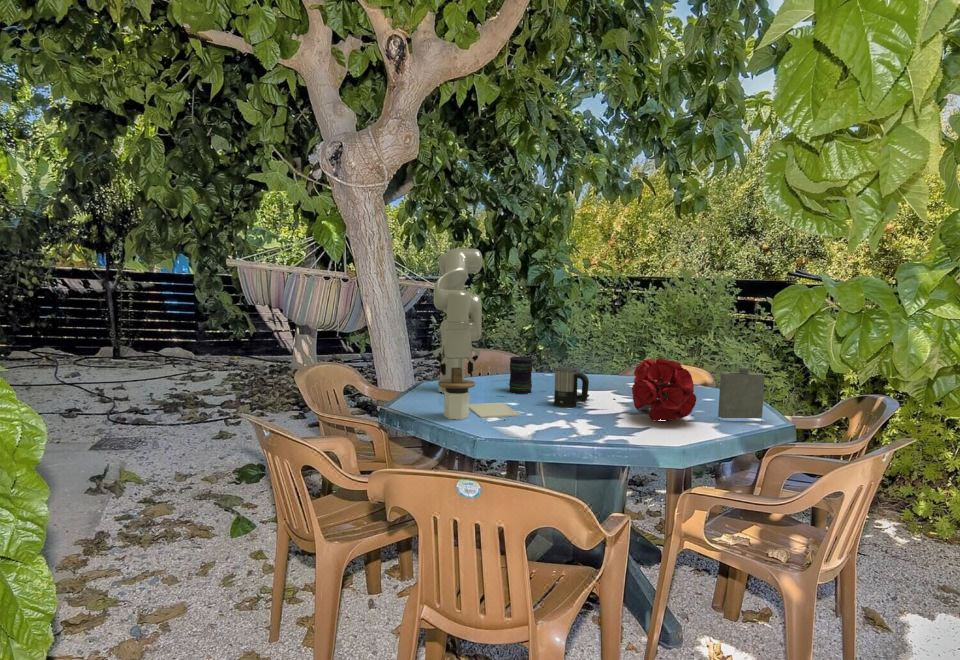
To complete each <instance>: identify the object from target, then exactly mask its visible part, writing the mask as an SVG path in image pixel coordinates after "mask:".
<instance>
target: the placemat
mask: <svg viewBox="0 0 960 660" xmlns="http://www.w3.org/2000/svg"><path fill="white" fill-rule="evenodd" d="M469 410H471V411H472V412H473V414H475V415H476V416H478V417H479V418H480V419H489V418H490V419H491V418H506V417H507V418H509V417H508V416H512V417H521V414H520V413H519V412H518V411H515V410H514V409H513V408H511V407H509V406H508V405H507V404H505V403H504V402H490V403H489V402H488V403H485V402H484V403H469Z"/></svg>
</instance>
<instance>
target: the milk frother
mask: <svg viewBox="0 0 960 660" xmlns="http://www.w3.org/2000/svg"><path fill="white" fill-rule="evenodd" d="M578 370H579V369H578V368H576V367H572V366H571V367H569V366H558V367H557V366H556V367H554V397H553V405H554V406H555V407H559V408H575V407H577V406H578V405H577V403H579V402H582V403H583V402H586V401H587V400H588V398H590V394H589V383H590V381H589V378H588V376H587V375H585V373H582V372H578ZM578 379H579V380H581V382H582V386H581V394H578Z"/></svg>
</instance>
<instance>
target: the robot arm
mask: <svg viewBox="0 0 960 660" xmlns="http://www.w3.org/2000/svg"><path fill="white" fill-rule="evenodd" d="M483 261H484V260H483V255H482V253H481V251H480V250H479V249H477V248H467V247H466V248H458V247H457V248H451V249H449V250H448V251H447V252H444V253H441V254H440V255H439V256H438V266H439V271H440V273H441V276H440V277H439V278H438V279H437V280H436V282H435V284H434V286H433V288H434V289H433V304H434V307H435V308H436V309H437V310H438V311H444V312H445V314H446V319H444V320H443V321H442V322H441V323H440V337H441V338H440V339H441V346H440V347H439V348H436V349H435V350H433V352H432V353H433V355H434V358H435V359H436V360H437V362H439V363H440V373H441V380H446V379H451V368H461V369H462V379H464V380H465V359H467V361H468V362H467V374H468V375H472V373H473V372H474V364H475V362H476V361H477V360H478V358H479V356H480V354H481V352H482V351H481V350H480V349H478V348H476V347H474V346H473V344H472V342H478V341H479V340H480V339H481V338H482V317H483V316H482V315H483V313H482V312H483V308H482V307H483V306H482V305H483V303H482V298H481V296H480V295H479V294H477V293H471V292H470V291H469V290H465V283H466V282H467V280H468V279H469V275H468V274H479V272H480V271H481V269H482V267H483V263H484V262H483ZM469 317H470V318H469ZM473 352H475V353H474V355H473ZM439 353H441V357H440V356H439ZM438 391H439V392H438ZM445 391H446V389H445V388H443V387H440V386H439V387H438V388H437V392H438V393H440V392H442V393H441V394H443V393H444V392H445Z"/></svg>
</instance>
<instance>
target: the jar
mask: <svg viewBox="0 0 960 660" xmlns="http://www.w3.org/2000/svg"><path fill="white" fill-rule="evenodd" d="M445 389H446V391H445V392H444V394H443V395H444V400H443V402H444V403H443V405H444V406H443V408H444V409H443V411H444V412H443V417H445V418H446V419H448V420H452V419H456V420H455V421H459V420H460V421H462V420H465V419H469V417H470V411H469V410H470V409H469V404H470V391H469V388H465V389H451V388H445Z"/></svg>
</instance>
